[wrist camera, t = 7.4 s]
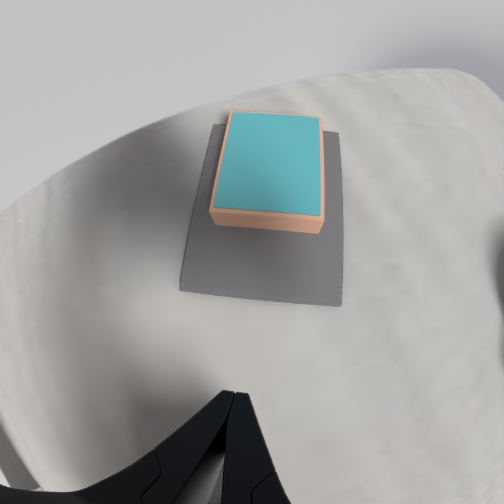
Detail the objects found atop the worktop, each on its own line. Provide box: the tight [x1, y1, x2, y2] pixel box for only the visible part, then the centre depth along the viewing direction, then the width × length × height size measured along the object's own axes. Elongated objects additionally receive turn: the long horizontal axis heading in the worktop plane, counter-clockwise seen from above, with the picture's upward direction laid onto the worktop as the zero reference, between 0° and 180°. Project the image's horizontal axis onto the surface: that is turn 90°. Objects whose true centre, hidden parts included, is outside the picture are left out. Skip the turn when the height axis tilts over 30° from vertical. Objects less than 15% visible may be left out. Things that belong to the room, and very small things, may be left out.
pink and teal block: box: [209, 111, 324, 234], centre depth 21 cm, size 3×8×10 cm
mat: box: [179, 124, 343, 306], centre depth 22 cm, size 16×12×1 cm
